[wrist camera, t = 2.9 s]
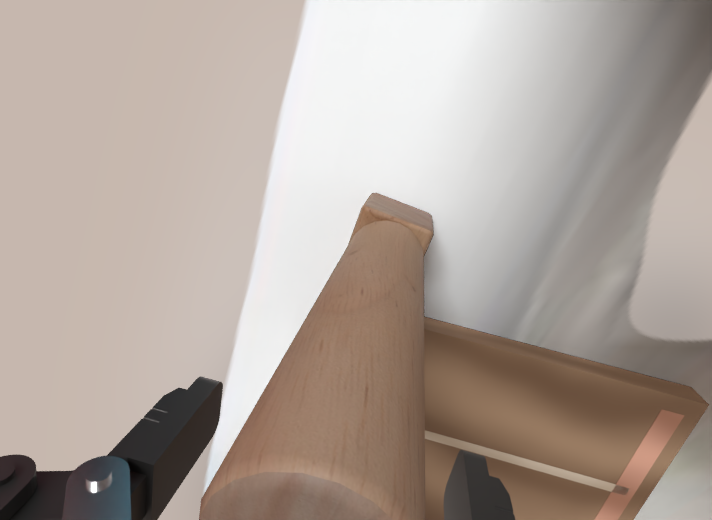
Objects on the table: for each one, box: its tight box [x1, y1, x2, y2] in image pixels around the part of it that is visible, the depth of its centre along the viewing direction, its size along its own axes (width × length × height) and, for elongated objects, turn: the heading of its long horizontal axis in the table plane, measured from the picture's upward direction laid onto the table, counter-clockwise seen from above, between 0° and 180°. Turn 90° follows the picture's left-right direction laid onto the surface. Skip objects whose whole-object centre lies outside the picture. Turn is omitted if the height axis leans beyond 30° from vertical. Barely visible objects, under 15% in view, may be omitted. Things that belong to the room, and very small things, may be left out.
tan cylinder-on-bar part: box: [199, 193, 433, 520], centre depth 16 cm, size 4×11×18 cm, turn 161°
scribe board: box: [424, 317, 709, 520], centre depth 25 cm, size 14×16×2 cm
